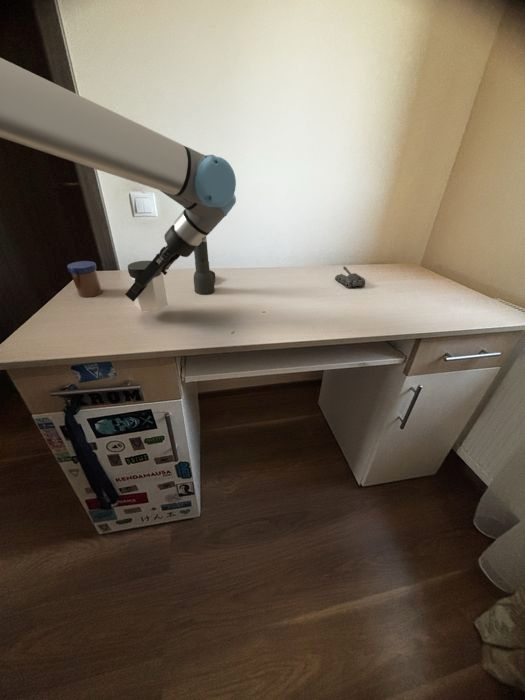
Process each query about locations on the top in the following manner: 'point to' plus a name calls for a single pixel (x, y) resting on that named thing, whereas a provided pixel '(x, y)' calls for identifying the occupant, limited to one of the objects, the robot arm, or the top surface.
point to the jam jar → (87, 284)
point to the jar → (148, 288)
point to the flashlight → (203, 271)
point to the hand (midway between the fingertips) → (138, 291)
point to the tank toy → (350, 279)
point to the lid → (82, 267)
